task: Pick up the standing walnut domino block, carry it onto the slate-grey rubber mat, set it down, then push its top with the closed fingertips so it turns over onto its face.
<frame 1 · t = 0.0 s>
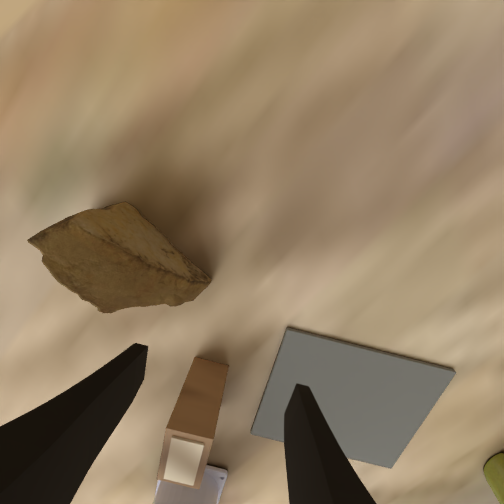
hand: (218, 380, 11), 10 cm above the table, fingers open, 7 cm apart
walnut block: (206, 383, 25), on the table
rock: (155, 251, 21), on the table
rubber mat: (343, 402, 24), on the table
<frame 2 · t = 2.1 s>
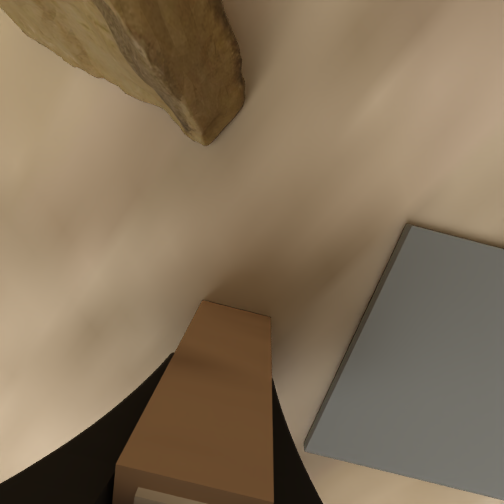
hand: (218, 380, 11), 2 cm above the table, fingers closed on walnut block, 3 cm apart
walnut block: (224, 355, 13), on the table, touching gripper
rock: (114, 31, 9), on the table
rubber mat: (494, 391, 12), on the table
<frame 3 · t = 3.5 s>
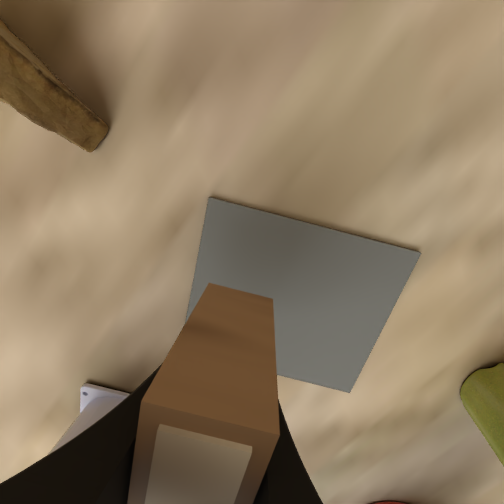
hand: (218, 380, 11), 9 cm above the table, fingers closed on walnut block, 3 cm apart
walnut block: (229, 337, 13), point 6 cm above the table, touching gripper
plant pot: (492, 386, 21), on the table
rock: (38, 90, 16), on the table
rubber mat: (287, 304, 20), on the table
when the fingers open (2 cm above the table, at t = 5.1 s): walnut block stays where it is, resting on rubber mat.
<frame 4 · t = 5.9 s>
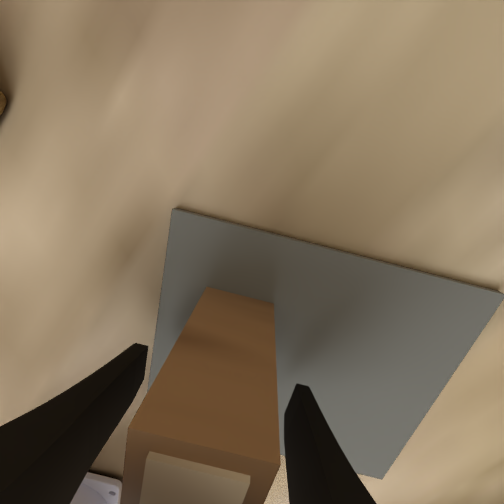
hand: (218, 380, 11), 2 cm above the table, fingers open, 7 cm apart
walnut block: (227, 342, 13), resting on rubber mat
rubber mat: (294, 362, 13), on the table
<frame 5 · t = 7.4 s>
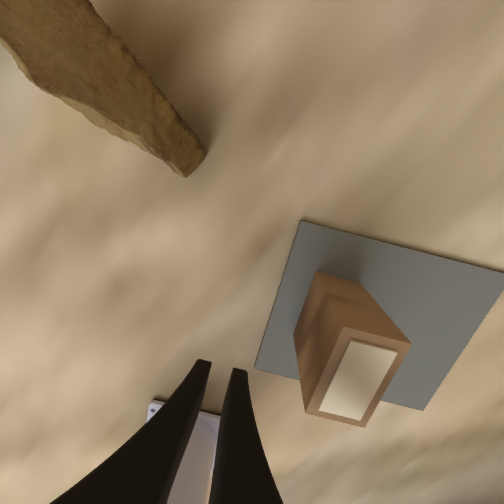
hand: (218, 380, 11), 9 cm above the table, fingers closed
walnut block: (324, 309, 19), resting on rubber mat
rock: (135, 116, 16), on the table
rubber mat: (367, 324, 20), on the table
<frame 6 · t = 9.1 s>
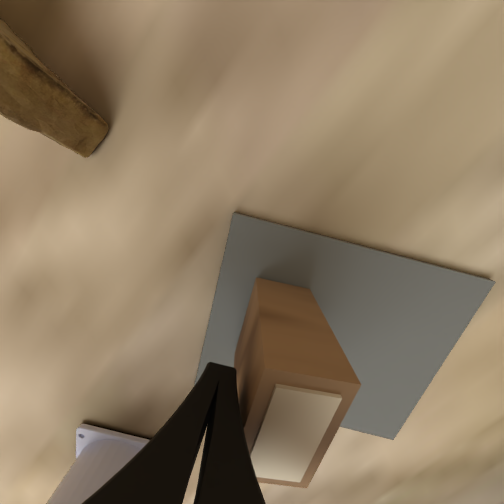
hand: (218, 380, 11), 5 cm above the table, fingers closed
walnut block: (270, 322, 16), point 1 cm above the table, tilted 5°, touching rubber mat
rock: (20, 80, 13), on the table
rubber mat: (323, 339, 16), on the table
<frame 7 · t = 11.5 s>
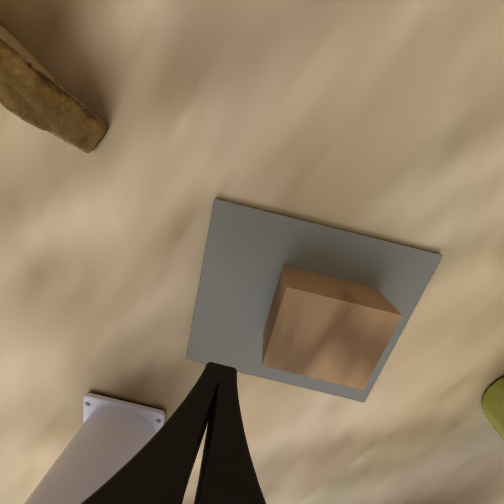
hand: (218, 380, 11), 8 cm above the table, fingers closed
walnut block: (273, 313, 16), point 2 cm above the table, tilted 90°, touching rubber mat
rock: (32, 88, 15), on the table
rubber mat: (298, 310, 19), on the table
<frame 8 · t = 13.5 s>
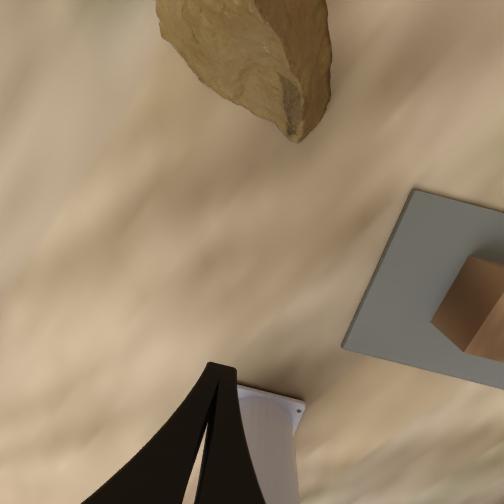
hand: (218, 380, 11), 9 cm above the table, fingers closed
walnut block: (466, 301, 17), point 2 cm above the table, tilted 90°, touching rubber mat
rock: (248, 79, 16), on the table
rubber mat: (467, 301, 19), on the table
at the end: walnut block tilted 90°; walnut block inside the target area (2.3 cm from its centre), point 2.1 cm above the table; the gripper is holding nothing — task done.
